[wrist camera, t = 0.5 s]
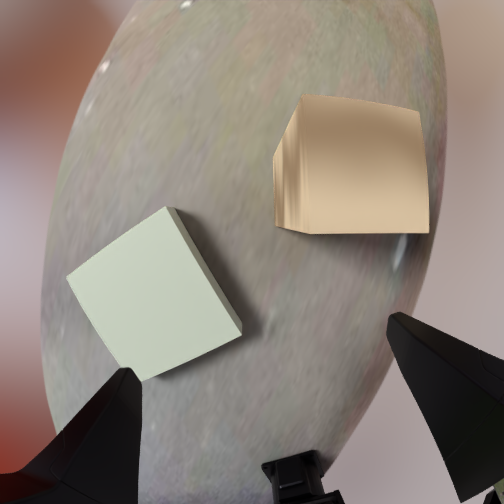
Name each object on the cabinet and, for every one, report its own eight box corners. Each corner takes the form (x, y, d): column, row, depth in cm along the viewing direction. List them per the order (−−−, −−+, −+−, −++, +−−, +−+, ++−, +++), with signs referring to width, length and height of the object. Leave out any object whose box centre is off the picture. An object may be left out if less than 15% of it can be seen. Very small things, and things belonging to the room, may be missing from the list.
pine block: (340, 225, 22) (429, 232, 10) (274, 225, 22) (310, 234, 10) (338, 159, 21) (418, 111, 9) (272, 157, 21) (302, 93, 9)
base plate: (242, 322, 23) (241, 334, 20) (143, 370, 23) (134, 384, 21) (174, 207, 21) (165, 206, 19) (80, 272, 22) (65, 277, 19)
